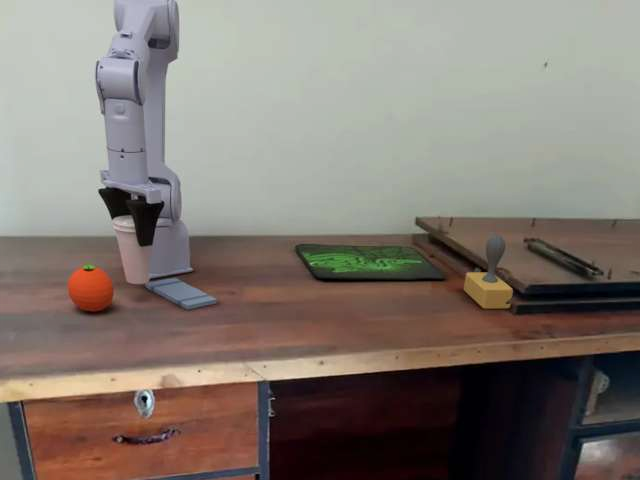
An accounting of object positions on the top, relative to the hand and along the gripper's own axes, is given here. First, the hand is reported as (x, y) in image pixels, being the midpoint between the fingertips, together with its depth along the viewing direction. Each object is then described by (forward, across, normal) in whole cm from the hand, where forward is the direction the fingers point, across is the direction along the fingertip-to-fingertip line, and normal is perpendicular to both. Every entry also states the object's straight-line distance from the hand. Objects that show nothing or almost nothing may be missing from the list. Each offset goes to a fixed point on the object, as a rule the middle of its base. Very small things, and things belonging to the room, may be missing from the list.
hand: (134, 240), depth 125 cm
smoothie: (+7, 0, 0) cm, 7 cm away
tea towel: (+10, +1, +8) cm, 13 cm away
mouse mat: (+10, +4, +50) cm, 51 cm away
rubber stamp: (+10, +31, +55) cm, 64 cm away
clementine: (+10, -1, -8) cm, 13 cm away
